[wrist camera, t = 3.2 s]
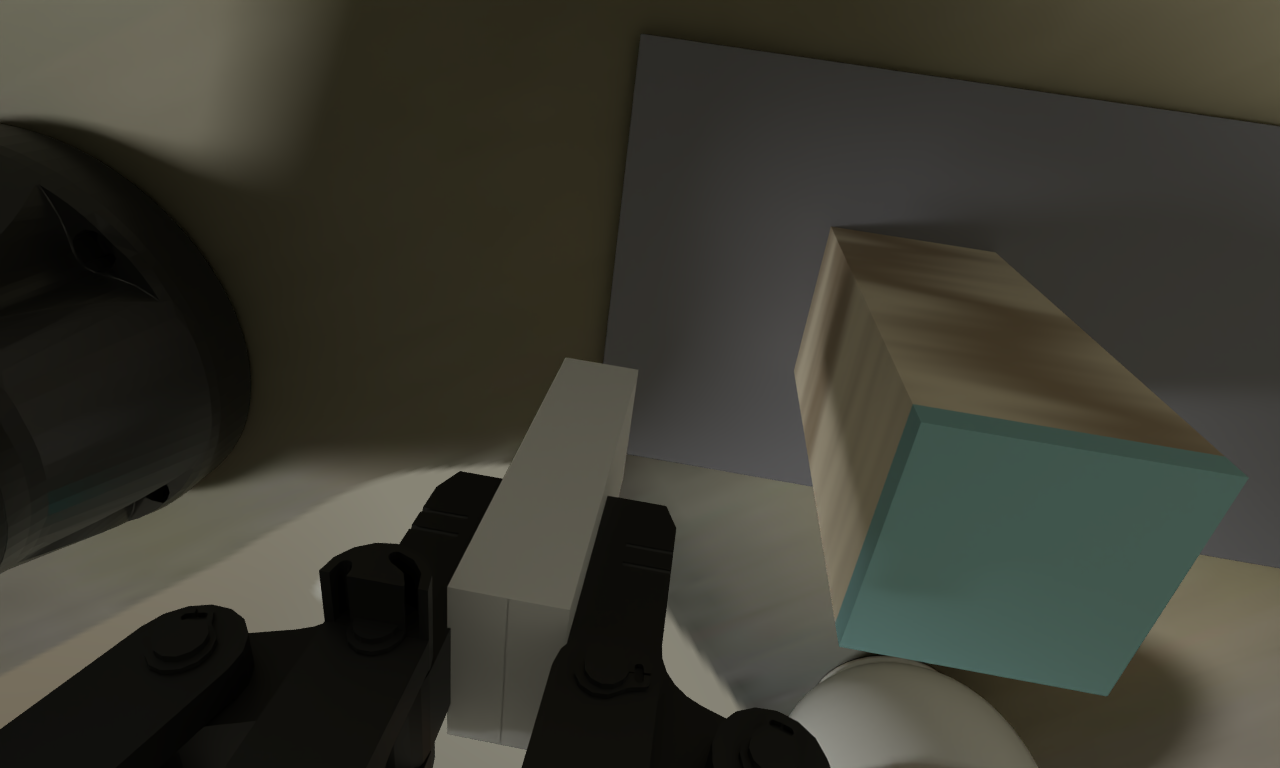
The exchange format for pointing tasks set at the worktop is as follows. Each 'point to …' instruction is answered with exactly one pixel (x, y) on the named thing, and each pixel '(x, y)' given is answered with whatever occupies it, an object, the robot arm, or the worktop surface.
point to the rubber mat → (940, 213)
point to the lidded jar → (906, 719)
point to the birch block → (990, 470)
